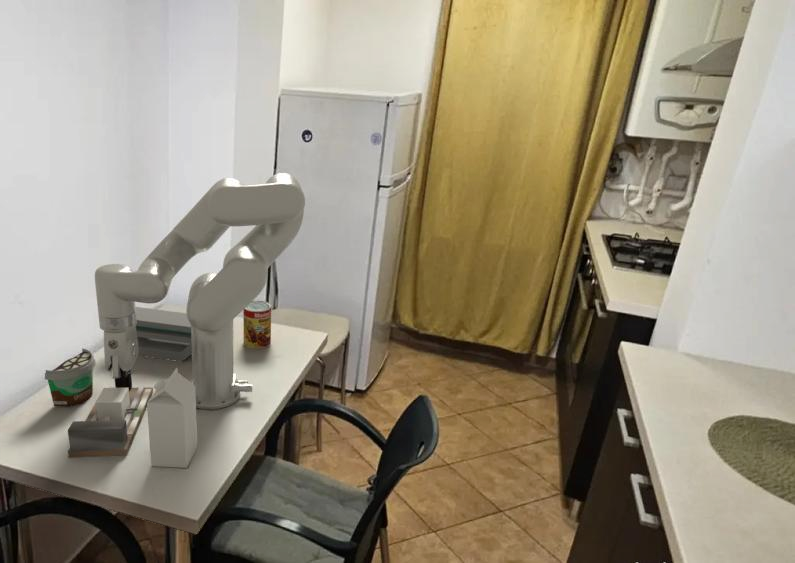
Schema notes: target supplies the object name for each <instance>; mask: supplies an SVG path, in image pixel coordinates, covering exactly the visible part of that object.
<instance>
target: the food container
mask: <svg viewBox="0 0 795 563" xmlns="http://www.w3.org/2000/svg"><path fill="white" fill-rule="evenodd" d="M81 350H82V351H81V352H80V353H79V354H78V355H75V356H73V357H71V358H68V359H67V360H65V361H63V362H62V363H61V364H59V365H58V366H57V367H56V368H54V369H52V370H49V369H48V370H47V369H45V372H44V380H47V383H48V386H49V391H50V396H51V399H52V402H53V407H55V408H71V407H74V406H78V405H81V404H84V403H86V402H87V401H88V400H90V399H91V398H92V397H93V395H94V394H93V393H94V384H93V377H94V376H93V372H94V371H93V369H94V368H95V366H96V359H95V357H94V354H93V353H92V352H91V351H90V350H89V349H86V348H81Z"/></svg>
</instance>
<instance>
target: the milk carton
mask: <svg viewBox="0 0 795 563" xmlns="http://www.w3.org/2000/svg"><path fill="white" fill-rule="evenodd" d="M153 389H155V391H153V394H152V396H151V398H150V399H149V401H148V402H147V409H146V411H147V425H148V427H147V428H148V437H149V439H148V440H149V450H150V451H149V452H150V463H151V464H150V465H151V467H161V468H162V467H163V468H164V467H165V468H178V469H179V468H180V469H181V468H183V469H187V468H188V466H190V462H191V461H192V459H193V457H194V455H195V452H196V451H197V448H198V430H197V429H198V427H197V408H196V395H195V386H194V385H193V382H191V381H189V380H188V379H187V378H185V377H184V376H183V375H182V374H180V373H179V372H178V367H176V368H175V369H174V371H173V372H172V373H171V375H170V376H169V377H168V378H167V379H165V380H164V379H160V380H158V381H157V382H156V383H155V384H154V385H153Z"/></svg>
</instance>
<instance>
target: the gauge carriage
mask: <svg viewBox="0 0 795 563" xmlns="http://www.w3.org/2000/svg"><path fill="white" fill-rule="evenodd" d="M103 389H104V390H103ZM103 389H102V390H101V392H102V393H101V392H100V394H101V395H100V394H99V396H100V397H99V396H98V398H99V399H98V398H97V399H98V400H97V399H96V401H97V402H96V401H95V403H96V407H97V416H98V421H100V420H101V419H102V417H103V416H104V415H109V416H110V417H111V420H124V419H125V417H126V414H127V412H128V411H135V410H138V408H130V399H129V388H115V387H114V388H109V387H103Z"/></svg>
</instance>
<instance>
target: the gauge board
mask: <svg viewBox="0 0 795 563" xmlns="http://www.w3.org/2000/svg"><path fill="white" fill-rule="evenodd" d="M108 388H115V385H114V386H109V387H108ZM103 390H104V388H102V391H103ZM102 391H101V392H100V394H99V396H98V398H97V399H96V401H95V403H94V404H93V406H92V408H91V410H90V412H89V414H88V415H87V417H86V419H85V420H82V421H81V420H79V421H78V420H77V421H75V420H73V421H72V422H71V424H70V426H69V427H68V428H67V434H68V442H69V443H68V444H69V448H68V449H67V457H68V458H86V457H88V458H89V457H116V456H118V457H119V456H120V457H121V456H122V457H123V456H128V454H129V452H130V449H131V447H132V445H133V441H134V439H135V438H136V435H137V433H138V430H139V428H140V425H141V423H142V420H143V418H144V416H145V413H146V411H147V409H146V408H147V402H148V401H149V399H150V398H151V396H152V395H153V394H154V386H153V387H152V386H151V387H149V386H148V387H145V386H144V385H141V386H139V387H132V388H131V390H130V391H129V399H130V408H138V410H135V411H128V412H127V414H126V417H125V419H124V420H111V417H110V416H109V415H104V416H103V417H102V419H101V420H100V421H98V416H97V407H96V402H97V400H98V399H99V397H100V395H101V393H102Z"/></svg>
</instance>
